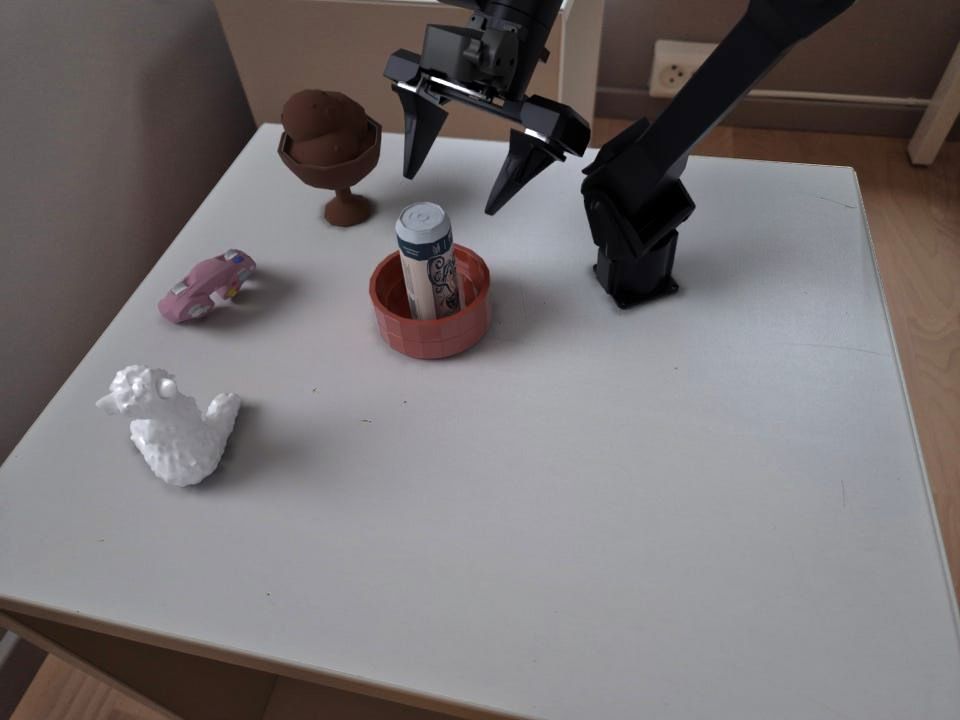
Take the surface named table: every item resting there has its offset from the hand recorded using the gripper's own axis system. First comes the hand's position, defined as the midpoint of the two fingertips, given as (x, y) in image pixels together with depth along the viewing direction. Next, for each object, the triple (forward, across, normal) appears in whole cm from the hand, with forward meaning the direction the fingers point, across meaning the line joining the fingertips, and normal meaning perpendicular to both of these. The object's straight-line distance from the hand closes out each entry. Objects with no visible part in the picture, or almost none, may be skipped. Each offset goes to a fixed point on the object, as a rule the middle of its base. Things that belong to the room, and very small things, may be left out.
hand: (446, 196), depth 65 cm
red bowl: (+11, 0, +6) cm, 13 cm away
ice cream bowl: (+6, -19, +11) cm, 23 cm away
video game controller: (+19, -20, -2) cm, 28 cm away
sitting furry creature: (+28, -7, -11) cm, 31 cm away
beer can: (+11, 0, +6) cm, 12 cm away
